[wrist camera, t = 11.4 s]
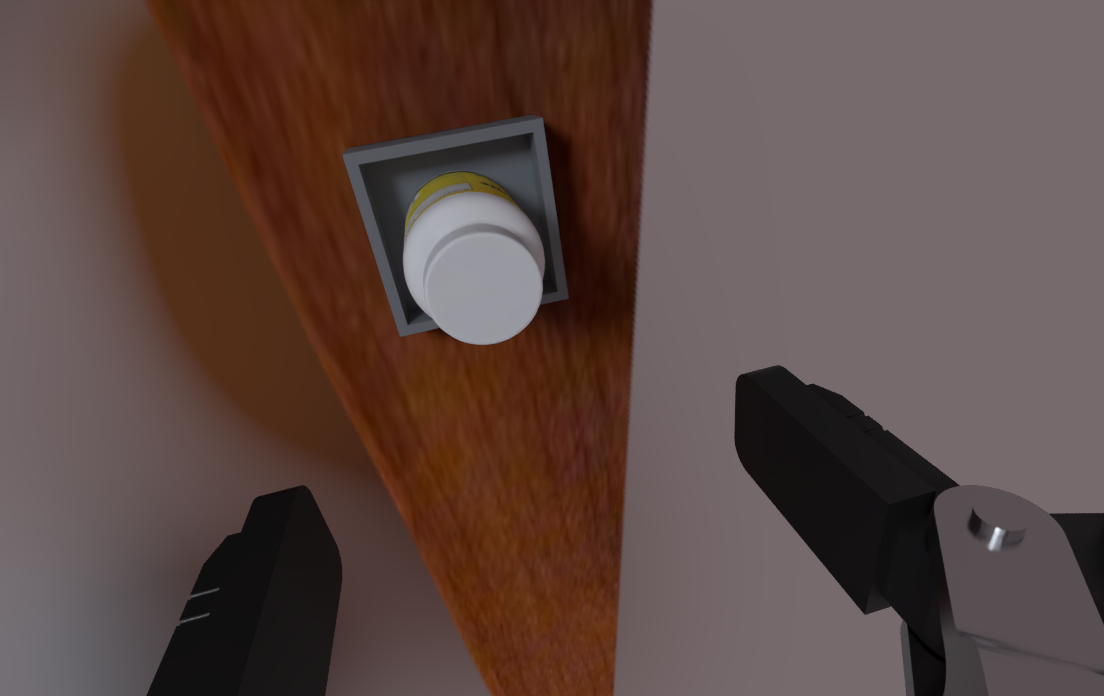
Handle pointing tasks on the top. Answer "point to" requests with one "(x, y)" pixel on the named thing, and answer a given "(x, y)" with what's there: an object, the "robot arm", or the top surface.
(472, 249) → the supplement bottle
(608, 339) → the top surface
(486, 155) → the tray
